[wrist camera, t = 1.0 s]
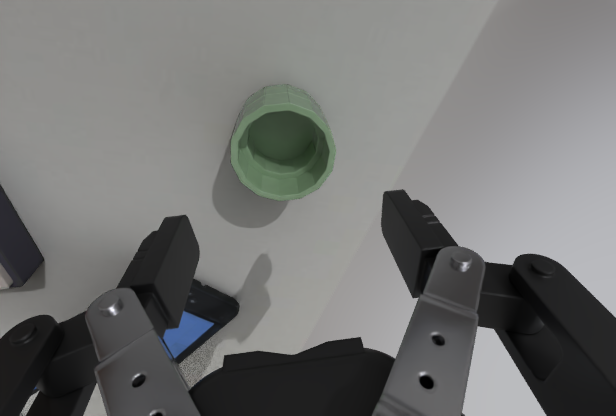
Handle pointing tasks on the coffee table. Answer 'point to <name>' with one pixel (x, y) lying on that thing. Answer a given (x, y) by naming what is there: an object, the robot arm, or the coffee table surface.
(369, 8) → the coffee table surface
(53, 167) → the coffee table surface
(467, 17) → the coffee table surface
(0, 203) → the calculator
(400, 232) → the robot arm
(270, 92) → the bowl
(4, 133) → the coffee table surface
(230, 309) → the game console
